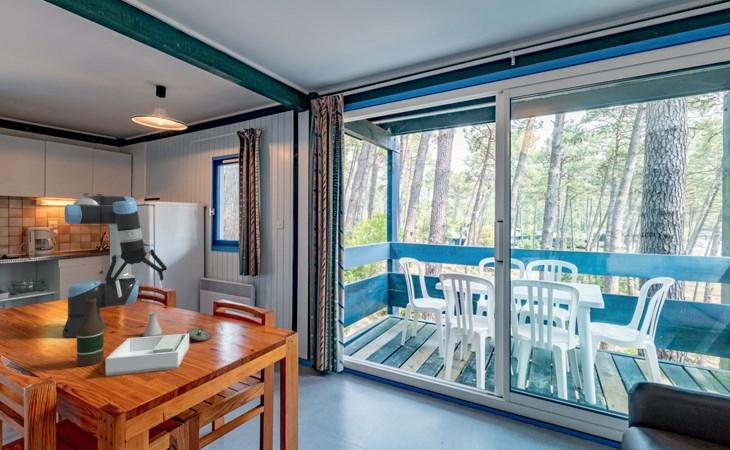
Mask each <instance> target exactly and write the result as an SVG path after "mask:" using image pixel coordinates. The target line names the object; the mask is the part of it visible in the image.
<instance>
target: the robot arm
mask: <svg viewBox="0 0 730 450" xmlns="http://www.w3.org/2000/svg"><path fill="white" fill-rule="evenodd" d="M138 210H139V209H138V205H137V202H136V200H135V198H134V197H132V196H124V195H123V196H122V195H120V196H119V195H99V194H97V195H90V196H89V195H88V196H83V197H80V198H77V199H76V200H75V201H74V202H73V203H72V204H70V203H69V204H66V205H65V206H64V222H65V223H66V224H68V225H106V226H107V225H108V226H109V268H108V271H107V273H106V276H105V278H104V280H105V282H103V283H102V282H101V281H100V280H99V279H98V280H88V281H83V282H78V283H75V284H72V285H70V286H69V287H68V290H67V296H66V297H67V319H66V322H65V323H64V327H63V330H62V337H63V338H70V339H73V338H74V339H75V338H76V339H77V331H78V329H79V326H80V325H81V324H82V322H83V320H84V312H85V303H84V301H85V299H87V298H96V299H97V301H96V308H97V317H98V319H99V320H100V321H101V322H102V325H103V329H104V331H105V329H106V324H105V321H104V319H103V316H102V314H101V309H105V308H113V307H119V306H120V307H121V306H124V307H125V306H127V305H133V304H134V303H136V302H137V299H138V294H139V287H140V285H139V283H140V281H139V280H138V279H136V276H135V275H133V273H132V265H135V264H141V263H144V264H146V265H147V266H149V267H150V268H152V269H153V270H155V271H156V277H157V282H158V288H159V290H161V289H162V288H163V286H162V281H164V273H163V272H165V271H166V270H168V267H167V265H165V263H164V262H163V261H162V259H160V258H159V256H158V255H157V254H156V252H155V249H154V248H151V249H149V250H146V249H145V245H144V240H143V239H142V238H143V233H142V227H141V225H140V217H139V211H138ZM147 255H149V256H151V257H152V258H153V260H154V261H156V263H157V264H158V265H159V266H158V265H156V264H154V262H152V261H150V260H149V259H148V258H146V256H147Z"/></svg>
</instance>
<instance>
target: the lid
mask: <svg viewBox="0 0 730 450" xmlns="http://www.w3.org/2000/svg"><path fill="white" fill-rule="evenodd" d="M186 334H189V339H193V340H195V341H198V342H205V341H208V340H210V339H211V338H212V334H211V332H209V331H208V330H205V329H204V328H203V327H200V328H191V329H188V330H187V331H186Z"/></svg>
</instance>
